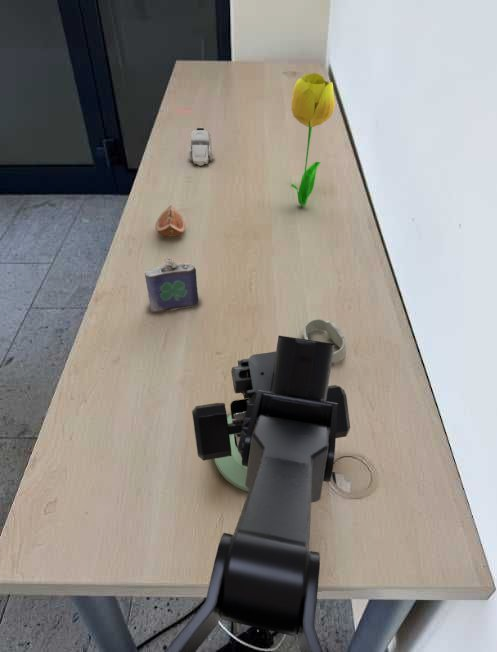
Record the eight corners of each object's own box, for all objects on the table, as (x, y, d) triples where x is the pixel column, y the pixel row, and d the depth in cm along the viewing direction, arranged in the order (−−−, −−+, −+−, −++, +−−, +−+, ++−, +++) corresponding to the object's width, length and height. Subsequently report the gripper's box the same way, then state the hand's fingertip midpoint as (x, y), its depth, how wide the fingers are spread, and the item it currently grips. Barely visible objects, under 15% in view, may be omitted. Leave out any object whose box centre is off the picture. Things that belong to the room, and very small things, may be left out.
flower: (292, 218, 116) (304, 86, 95) (279, 202, 121) (288, 72, 100) (325, 212, 118) (343, 81, 97) (311, 196, 123) (325, 68, 102)
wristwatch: (352, 359, 84) (357, 339, 81) (322, 371, 82) (325, 352, 79) (322, 326, 90) (326, 306, 86) (293, 337, 88) (296, 317, 84)
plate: (309, 497, 66) (310, 493, 66) (207, 490, 67) (207, 486, 66) (307, 412, 76) (307, 408, 75) (218, 406, 77) (218, 402, 76)
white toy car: (211, 168, 137) (211, 132, 136) (210, 162, 130) (210, 124, 130) (190, 168, 137) (190, 132, 136) (188, 162, 130) (188, 124, 130)
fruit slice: (185, 244, 108) (183, 224, 104) (155, 245, 108) (152, 225, 104) (186, 223, 114) (184, 204, 110) (157, 224, 113) (154, 205, 110)
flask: (151, 314, 92) (143, 269, 84) (149, 304, 94) (142, 259, 86) (199, 306, 93) (196, 261, 86) (196, 296, 95) (193, 252, 88)
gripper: (358, 346, 53) (317, 344, 68) (187, 370, 50) (185, 362, 66) (371, 448, 53) (327, 422, 68) (201, 477, 50) (195, 443, 66)
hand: (260, 410), depth 67 cm, fingers closed
